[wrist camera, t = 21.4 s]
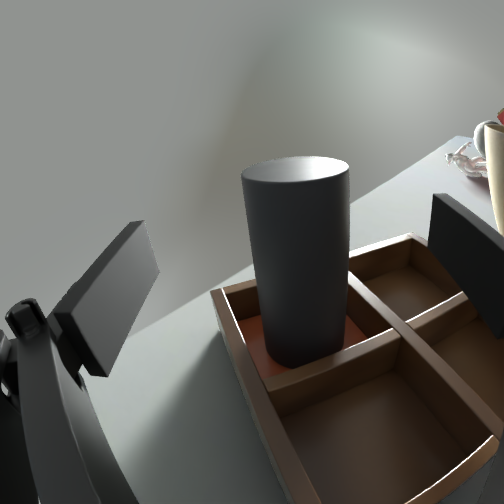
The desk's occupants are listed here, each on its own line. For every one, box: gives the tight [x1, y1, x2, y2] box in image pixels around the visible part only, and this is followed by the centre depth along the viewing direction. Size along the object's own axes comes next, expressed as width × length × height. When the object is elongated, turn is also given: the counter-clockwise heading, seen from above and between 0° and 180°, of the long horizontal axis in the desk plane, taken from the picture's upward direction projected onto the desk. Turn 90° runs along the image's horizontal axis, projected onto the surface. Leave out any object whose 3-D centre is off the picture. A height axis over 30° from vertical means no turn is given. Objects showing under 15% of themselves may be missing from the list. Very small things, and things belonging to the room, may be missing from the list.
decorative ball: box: [474, 121, 500, 159], centre depth 53 cm, size 10×10×10 cm
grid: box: [210, 232, 504, 504], centre depth 14 cm, size 16×16×3 cm
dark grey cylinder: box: [241, 157, 350, 369], centre depth 15 cm, size 5×5×10 cm
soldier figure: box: [445, 142, 488, 178], centre depth 45 cm, size 8×5×12 cm
